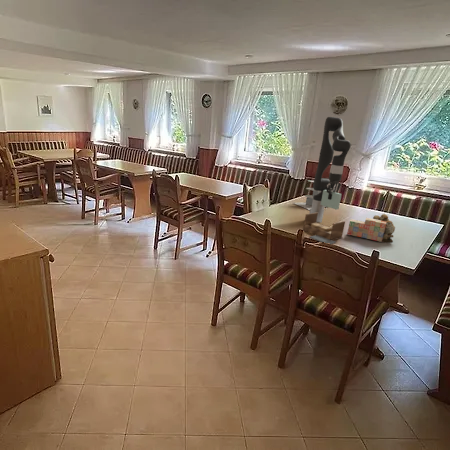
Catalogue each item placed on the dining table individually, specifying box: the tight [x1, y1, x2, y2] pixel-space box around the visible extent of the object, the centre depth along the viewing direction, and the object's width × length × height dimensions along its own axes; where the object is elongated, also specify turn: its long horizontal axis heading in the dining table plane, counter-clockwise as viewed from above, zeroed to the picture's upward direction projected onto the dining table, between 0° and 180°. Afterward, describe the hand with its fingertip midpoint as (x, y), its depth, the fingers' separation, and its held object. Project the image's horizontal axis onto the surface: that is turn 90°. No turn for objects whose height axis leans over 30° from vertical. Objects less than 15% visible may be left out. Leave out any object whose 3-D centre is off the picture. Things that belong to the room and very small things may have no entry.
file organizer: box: [293, 180, 332, 211], centre depth 292 cm, size 26×35×22 cm
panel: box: [321, 190, 342, 211], centre depth 212 cm, size 12×2×10 cm, turn 39°
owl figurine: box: [372, 213, 396, 244], centre depth 215 cm, size 18×12×17 cm, turn 44°
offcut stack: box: [311, 222, 332, 233], centre depth 216 cm, size 16×5×4 cm, turn 39°
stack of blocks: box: [346, 217, 386, 243], centre depth 214 cm, size 21×6×12 cm, turn 63°
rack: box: [302, 212, 346, 241], centre depth 216 cm, size 22×12×11 cm, turn 39°
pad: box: [308, 234, 337, 245], centre depth 205 cm, size 14×8×1 cm, turn 39°
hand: (330, 199), depth 212 cm, fingers closed on panel, 2 cm apart
